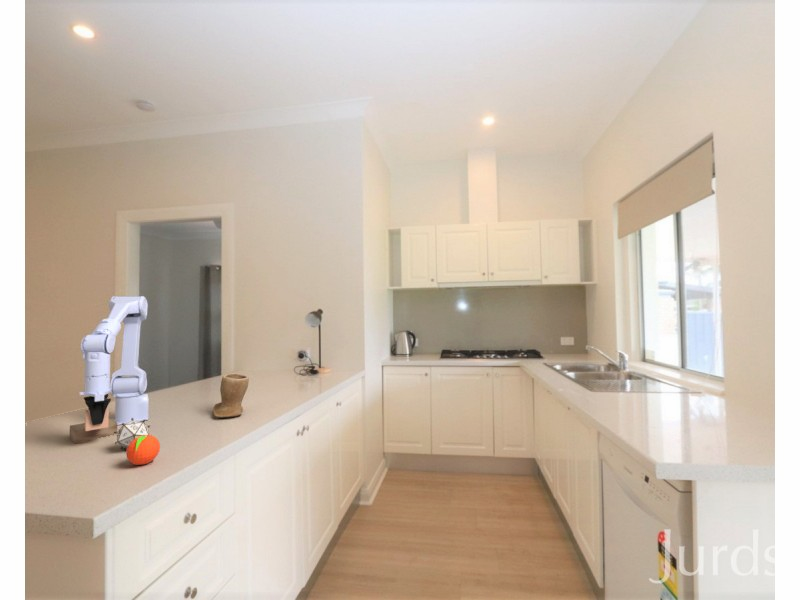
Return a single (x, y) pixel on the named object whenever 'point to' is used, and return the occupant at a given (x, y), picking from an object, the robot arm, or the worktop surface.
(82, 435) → the walnut block
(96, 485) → the worktop surface
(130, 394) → the robot arm
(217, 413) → the brown boot
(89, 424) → the terracotta cube
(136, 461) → the clementine
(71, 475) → the worktop surface
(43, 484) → the worktop surface
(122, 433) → the game die
